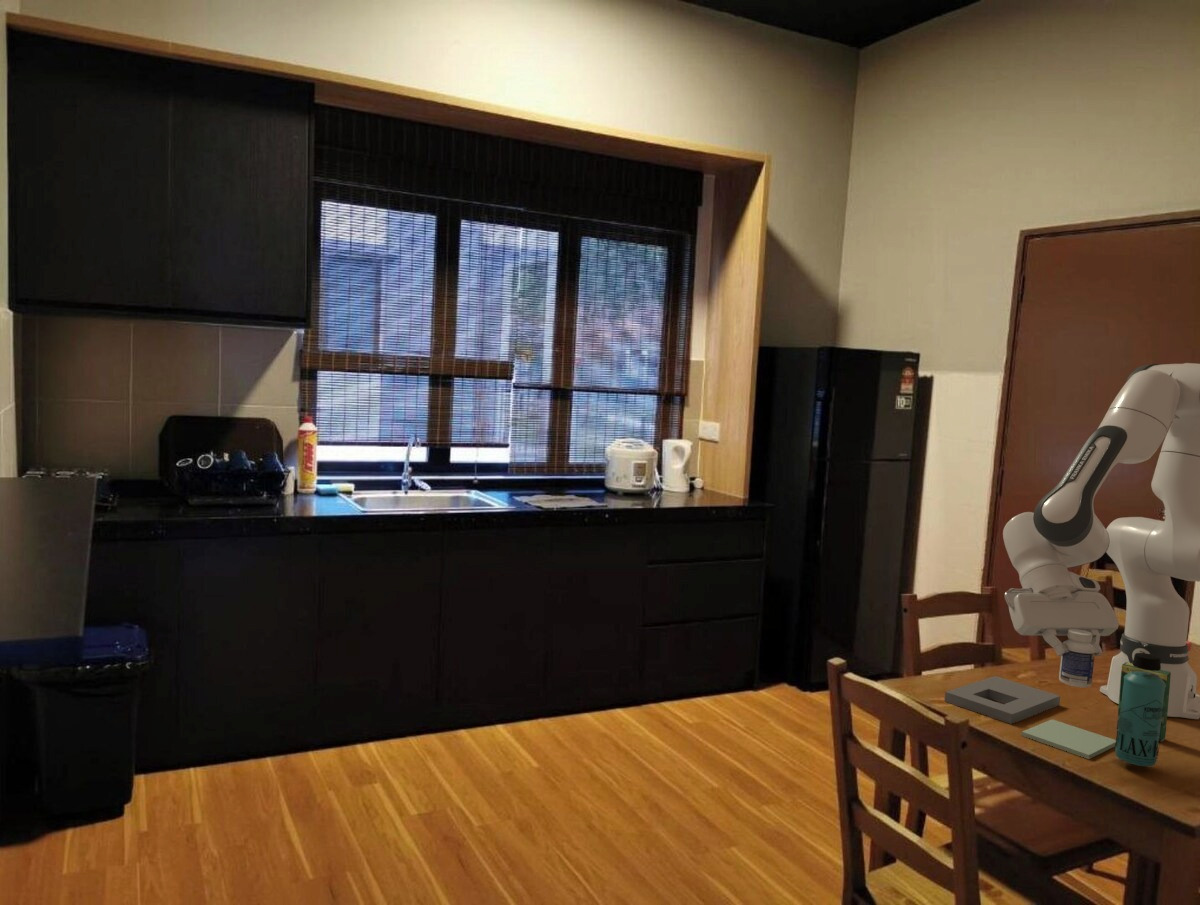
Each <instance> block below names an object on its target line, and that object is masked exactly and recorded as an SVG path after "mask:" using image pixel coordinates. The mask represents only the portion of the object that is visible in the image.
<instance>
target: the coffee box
mask: <svg viewBox="0 0 1200 905" xmlns="http://www.w3.org/2000/svg"><path fill="white" fill-rule="evenodd" d="M1132 671H1144V672H1149V673H1153V674H1156V675H1158V676H1159V677H1160V678H1161V679H1162V680H1163V681H1164V683H1165V684H1166V687H1165V692H1164V700H1163V708H1164V709H1163V711H1162V712H1163V713H1162V717H1163V718H1162V719H1161V727H1160V732H1161V733H1160V735H1159V743H1162V742H1163V741H1165V739H1166V733H1167V722H1168V716H1167V712H1168V702H1169V689H1170V677H1171V672H1169V671H1164V670H1159V671H1151V670H1145V669H1141V668H1138V667H1135V666H1134V665H1133V664H1132V663H1127V662H1125V663H1124V664H1122V669H1121V680H1120V694H1119V704H1118V708H1117V710H1118V711H1117V721H1116V731H1118V724H1119V716H1120V714H1119V713H1120V710H1121V701H1122V693H1123V684H1124V676H1125V675H1126V674H1128V673H1130V672H1132ZM1117 723H1118V724H1117Z"/></svg>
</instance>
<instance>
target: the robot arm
mask: <svg viewBox="0 0 1200 905" xmlns="http://www.w3.org/2000/svg"><path fill="white" fill-rule="evenodd" d="M1160 447H1161V450H1160V452H1159V455H1158V459H1157V462H1156V466H1155V469H1154V473H1153V475H1152V479H1151V483H1150V484H1151V490H1152V493H1153V494H1154V495H1155V496H1156V497H1157V498H1158V499H1159V500H1160V501H1161V502H1162V503H1163V507H1164V511H1165V514H1164V515H1165V516H1164V520H1159V519H1154V518H1150V517H1144V516H1128V517H1126V516H1125V517H1119V518H1116V519H1114V520H1112V522H1110V523H1109V524H1108V526H1107V527H1106V528H1105V525H1104V524H1103V522H1101V520H1100V518H1098V516H1097V515H1096V513H1095V510H1094V500H1095V496H1096V495H1097V493H1098V491H1099V490H1100V488H1101V486H1102V485H1103V483H1104V482H1105V481H1106V479H1107V477H1108V476H1109V473H1111V470H1112V469H1113V468H1114V467H1115V466H1116V465H1117V464H1119V463H1120V464H1125V465H1134V464H1140V463H1143V462H1145V461H1148V460H1150V459H1151V457H1153V456H1154V454H1155V453H1156V452H1157V451H1158V449H1159V448H1160ZM1002 538H1003V542H1004V543H1003V544H1004V546H1005V550H1006V552H1007V555H1008V558H1009V560H1010V562H1011V565H1012V566H1013V568H1014V569H1015V570H1016V571H1017V573H1018V576H1019V582H1020V585H1021V587H1022V588H1016V587H1015V588H1014V587H1011V588H1009V589H1008V590H1006V591H1005V593H1004V600H1005V602H1006V604H1007V606H1008V610H1009V615H1010V619H1011V622H1012V625H1013V629H1014V630H1015V631H1016V632H1017V633H1018V634H1019V635H1020V636H1042V637H1043V640H1044V641H1045V642H1046V643H1047V644H1048V645H1049V646H1050V647H1052V648H1053V649H1054V651H1055V653H1056V656H1058V657H1061V656H1066V655H1067V654H1068V653H1069V649H1068V648H1067V644H1066V643H1063V642H1062V641H1061V640H1060V639H1059V637H1057V636H1060V637H1061V636H1064V637H1065V636H1067V634H1068V630H1069V629H1080V630H1085V631H1088V632H1091V633H1092V641H1091V642H1090V644H1092V645H1093V646H1094V647H1095V657H1099V656H1100V655H1101V654H1102V653H1103V651H1102V650H1103V649H1102V648H1101V646H1100V640H1101V637H1108V636H1109V637H1110V635H1111V634H1113V633H1115V632H1116V631H1117V630H1118V628H1119V626H1120V622H1119V618H1118V617H1117V614H1116V612H1115V611H1114V609H1113V607H1112V605H1111V603H1110V602H1109V600H1108V599H1107V598H1106V597H1105V596H1104V594H1102V593H1101V592H1100V590H1101V585H1100V584H1099V582H1098V581H1097V580H1095V579H1091V578H1088V577H1085V576H1082V575H1079V574H1077V573H1075V572H1073V571H1069V570H1068V569H1071V568H1076V567H1079V566H1080V567H1081V566H1083V565H1087V564H1092V563H1094V562H1096V561H1098V560H1099V559H1101V558H1103V556H1104V555H1105V554H1106V555H1107V556H1108V557H1110V559H1111V560H1112V561H1113V562H1114V564H1115V565H1116V568H1117V569H1118V571H1119V574H1120V576H1121V578H1122V581H1123V582H1122V583H1123V586H1124V590H1125V595H1126V607H1125V609H1126V610H1125V611H1126V613H1125V624H1124V632H1123V633H1122V634H1121V638H1120V646H1119V650H1120V652H1119V653H1118V654H1116V655H1113V657H1112V659H1111V663H1110V669H1109V674H1108V679H1107V684H1105V685H1101V686H1100V688H1099V692H1100V693H1102V694H1104V695H1105V696H1107V697H1108V698H1109V700H1111V701H1112V702H1114V703H1116V704H1118V705H1119V694H1120V680H1121V669H1122V664H1124V663H1125V662H1127V663H1132V664H1133V660H1134V655H1135V654H1136V653H1147V654H1151V655H1155V656H1158V657H1159V658H1160V659H1161V670H1164V671H1169V672H1171V677H1170V689H1169V702H1168V712H1167V717H1169V718H1170V717H1171V718H1172V717H1173V718H1185V719H1191V720H1199V719H1200V694H1197V683H1198V682H1197V681H1198V676H1197V674H1196V673H1195V671H1194V670H1193V669H1192V667H1191V666H1190V663H1188V661H1189V660H1190V658H1189V655H1190V651H1191V649H1192V642H1191V641H1187V638H1188V628H1189V621H1190V608H1189V605H1188V603H1187V601H1186V600H1185V599H1184V598H1183V597H1181V596H1180V594H1178V592H1177V590H1176V589H1175V586H1174V585H1173V583H1172V578H1175V579H1179V580H1184V581H1188V582H1198V583H1199V582H1200V363H1194V362H1193V363H1191V362H1184V363H1169V364H1168V363H1167V364H1164V363H1163V364H1159V363H1150V364H1144V365H1141V366H1138V367H1136V368H1135V369H1134V370H1133V371H1132V372H1131V373H1130V374H1129V376H1128V377H1127V379H1126V380H1125V383H1124V385H1123V386H1122V387H1121V388H1120V390H1119V392H1118V393H1117V395H1116V396H1115V398H1114V399H1113V401H1112V402H1111V404H1110V405H1109V407H1108V410H1107V412H1106V414H1105V415H1104V417H1103V419H1102V420H1101V422H1100V424H1099V425H1098V427H1097V429H1095V431H1094V432H1093V433H1092V434H1091V435H1090V436H1089V437H1088V439H1087V440H1086V441H1085V443H1084V444H1083V446H1082V447H1081V448H1080V451H1079V452H1078V454H1077V455H1076V456H1075V458H1074V459H1073V461H1072V462H1071V464H1070V466H1069V467H1068V469H1067V470H1066V472H1065V474H1063V476H1062V478H1061V480H1060V481H1059V482H1058V483H1057V484H1056V485H1055V487H1053V488H1052V489H1051V490H1050V491H1049V492H1047V493H1046V494H1045V495H1044V496H1043V497H1042V498H1041V499H1040V500H1039V501H1038V502H1037V505H1036V506H1035V508H1034V511H1033V512H1032V511H1026V512H1025V511H1024V512H1022V513H1018V514H1017V515H1015V516H1013V517H1011V519H1009V521H1007V523H1005V525H1004V527H1003V530H1002Z"/></svg>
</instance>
